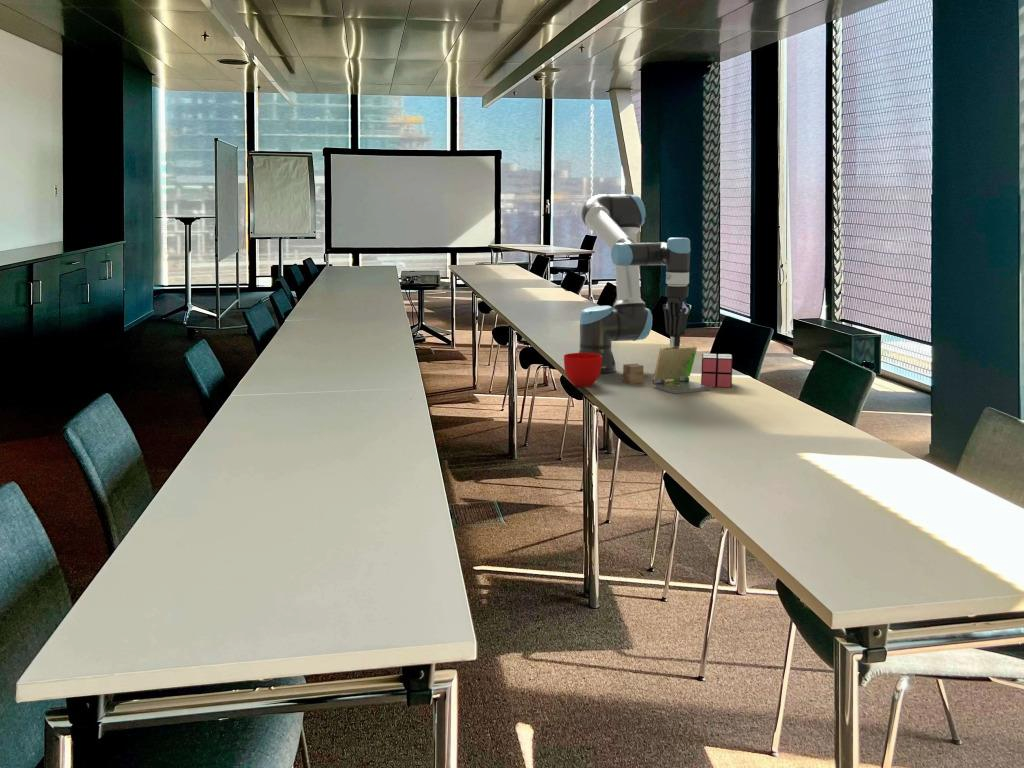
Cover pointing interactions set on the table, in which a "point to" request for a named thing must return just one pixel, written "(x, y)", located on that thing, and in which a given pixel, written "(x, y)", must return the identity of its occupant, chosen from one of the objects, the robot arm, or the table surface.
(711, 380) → the puzzle cube
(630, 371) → the block
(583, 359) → the ceramic cup
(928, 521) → the table surface
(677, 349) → the cream square panel
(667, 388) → the hinge base
